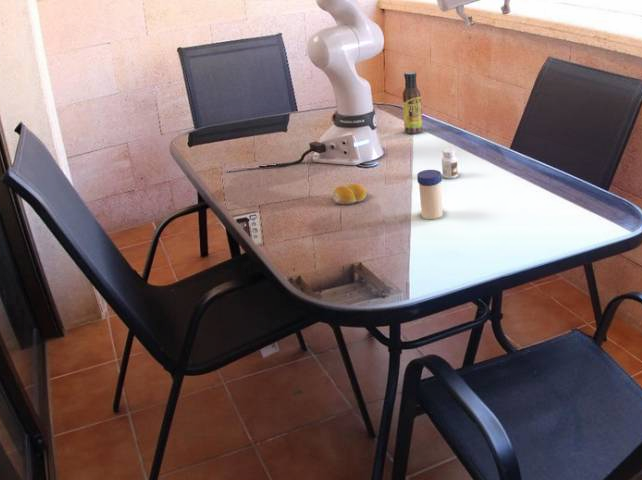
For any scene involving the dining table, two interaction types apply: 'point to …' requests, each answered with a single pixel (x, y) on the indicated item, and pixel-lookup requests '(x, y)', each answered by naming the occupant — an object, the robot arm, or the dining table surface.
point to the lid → (429, 177)
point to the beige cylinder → (431, 201)
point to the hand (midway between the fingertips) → (488, 19)
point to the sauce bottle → (412, 104)
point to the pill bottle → (449, 164)
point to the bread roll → (349, 194)
